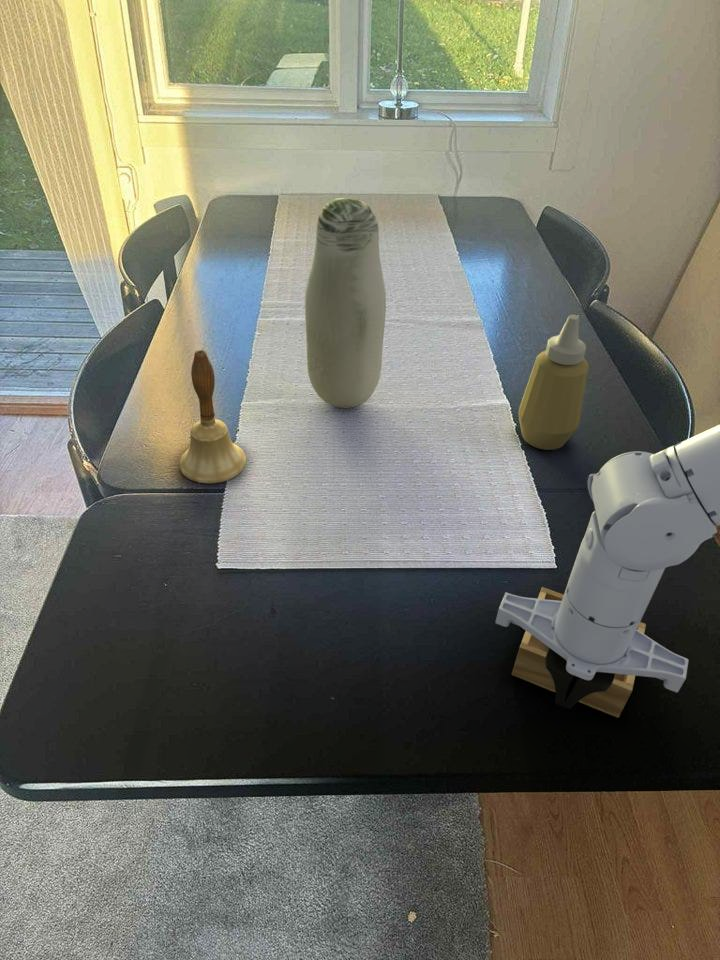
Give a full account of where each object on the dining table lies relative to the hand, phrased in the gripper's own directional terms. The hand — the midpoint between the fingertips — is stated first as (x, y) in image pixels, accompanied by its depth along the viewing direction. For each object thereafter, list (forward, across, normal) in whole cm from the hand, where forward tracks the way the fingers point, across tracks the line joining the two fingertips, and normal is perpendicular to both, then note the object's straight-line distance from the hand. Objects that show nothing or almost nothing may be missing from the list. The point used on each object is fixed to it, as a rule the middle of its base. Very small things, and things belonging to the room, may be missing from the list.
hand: (565, 697), depth 61 cm
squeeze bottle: (+3, -12, +40) cm, 42 cm away
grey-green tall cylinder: (+3, -40, +36) cm, 54 cm away
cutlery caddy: (+3, 0, +6) cm, 7 cm away
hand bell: (+3, -48, +16) cm, 50 cm away
